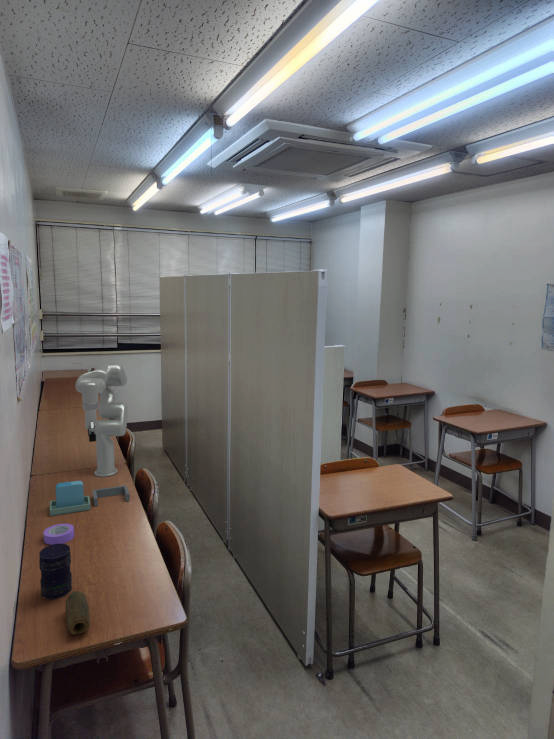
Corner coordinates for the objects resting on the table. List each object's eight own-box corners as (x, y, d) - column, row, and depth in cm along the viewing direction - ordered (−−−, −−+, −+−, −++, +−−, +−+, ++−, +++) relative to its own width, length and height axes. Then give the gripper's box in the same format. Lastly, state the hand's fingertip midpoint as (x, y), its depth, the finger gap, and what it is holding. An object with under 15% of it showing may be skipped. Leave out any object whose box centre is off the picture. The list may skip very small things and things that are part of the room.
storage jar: (40, 602, 157) (37, 561, 155) (41, 585, 166) (39, 546, 164) (72, 595, 161) (70, 555, 159) (72, 579, 170) (70, 541, 168)
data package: (83, 503, 231) (82, 480, 229) (84, 507, 227) (83, 483, 225) (56, 507, 226) (55, 483, 224) (56, 511, 222) (55, 487, 220)
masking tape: (39, 538, 199) (39, 529, 198) (67, 528, 207) (66, 520, 207) (50, 548, 191) (50, 539, 190) (79, 538, 199) (78, 529, 199)
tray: (50, 507, 227) (49, 501, 227) (89, 501, 234) (89, 495, 234) (49, 516, 218) (49, 510, 217) (90, 510, 225) (90, 504, 225)
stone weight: (62, 611, 153) (61, 592, 152) (85, 604, 157) (84, 586, 156) (69, 640, 140) (68, 620, 139) (93, 632, 144) (93, 612, 143)
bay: (92, 497, 239) (92, 489, 238) (126, 492, 246) (126, 485, 245) (94, 506, 229) (94, 498, 228) (129, 501, 236) (129, 493, 235)
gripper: (81, 402, 242) (83, 434, 245) (83, 410, 227) (84, 444, 229) (97, 401, 245) (98, 432, 248) (99, 409, 230) (101, 442, 233)
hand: (92, 438), depth 239 cm, fingers open, 9 cm apart
